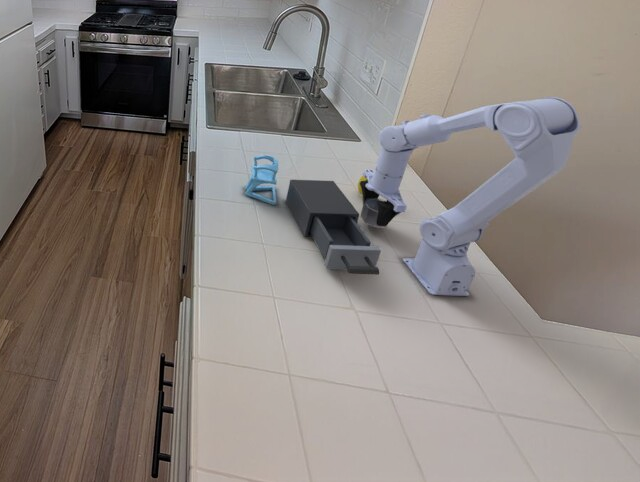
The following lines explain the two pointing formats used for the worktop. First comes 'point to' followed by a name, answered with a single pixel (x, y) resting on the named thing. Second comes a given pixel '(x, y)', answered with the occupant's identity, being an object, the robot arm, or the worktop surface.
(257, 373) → the worktop surface
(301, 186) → the drawer cabinet
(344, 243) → the drawer
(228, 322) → the worktop surface
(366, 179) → the lemon
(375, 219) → the octagonal metal cup
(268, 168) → the chair
